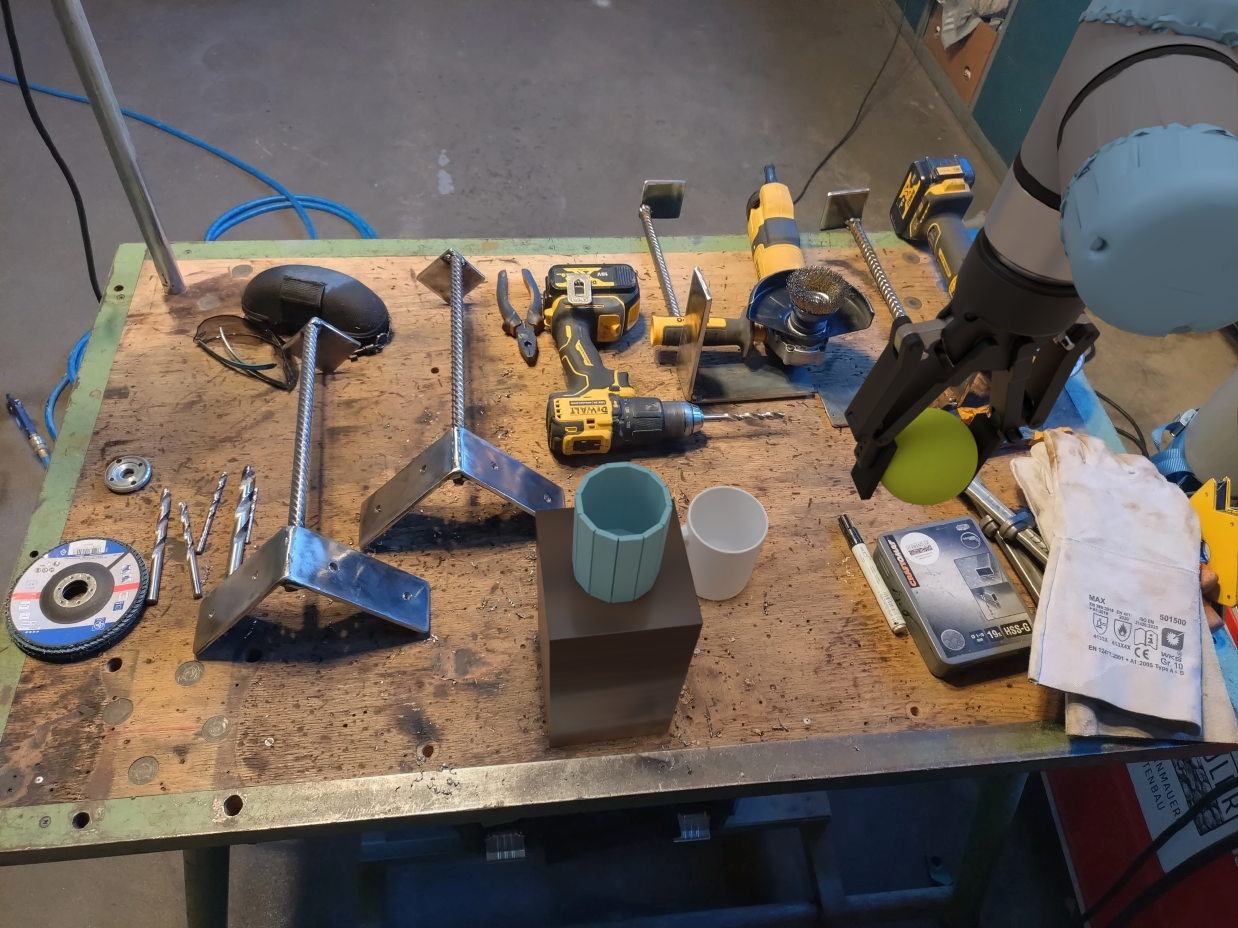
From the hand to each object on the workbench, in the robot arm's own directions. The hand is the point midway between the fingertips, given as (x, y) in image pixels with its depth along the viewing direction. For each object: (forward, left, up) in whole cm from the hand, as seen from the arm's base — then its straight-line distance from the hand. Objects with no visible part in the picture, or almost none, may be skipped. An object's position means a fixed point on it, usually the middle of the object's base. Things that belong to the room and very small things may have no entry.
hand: (907, 482), depth 65 cm
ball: (0, 0, 0) cm, 0 cm away
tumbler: (-2, +24, -6) cm, 25 cm away
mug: (+10, +11, -30) cm, 33 cm away
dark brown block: (-2, +24, -30) cm, 38 cm away
